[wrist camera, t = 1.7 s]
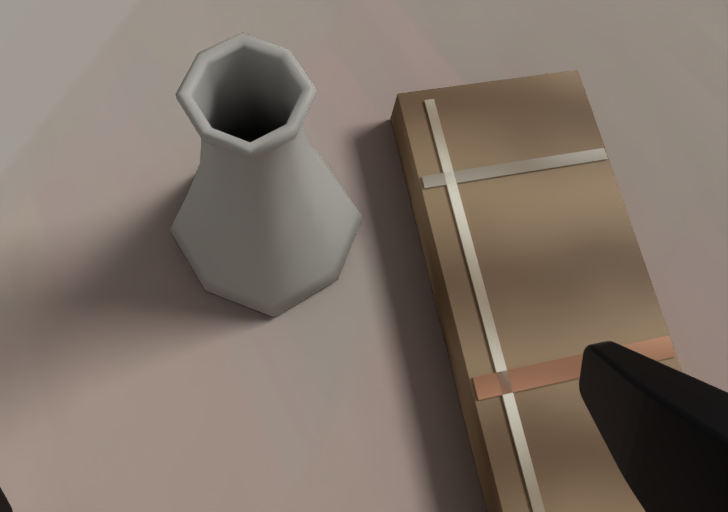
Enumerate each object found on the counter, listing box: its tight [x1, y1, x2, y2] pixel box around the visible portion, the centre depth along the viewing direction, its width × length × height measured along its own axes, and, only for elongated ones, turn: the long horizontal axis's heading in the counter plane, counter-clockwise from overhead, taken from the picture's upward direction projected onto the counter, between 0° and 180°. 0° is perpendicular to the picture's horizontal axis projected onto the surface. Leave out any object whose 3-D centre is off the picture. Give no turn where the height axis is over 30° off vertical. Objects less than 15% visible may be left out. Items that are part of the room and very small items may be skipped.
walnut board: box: [390, 70, 682, 512], centre depth 23 cm, size 18×8×2 cm, turn 12°
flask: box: [170, 32, 362, 317], centre depth 19 cm, size 7×7×10 cm
